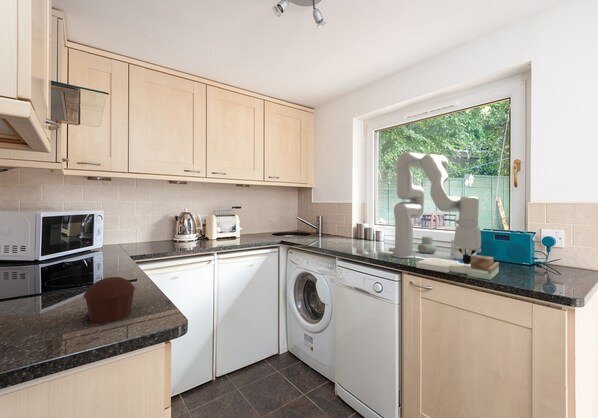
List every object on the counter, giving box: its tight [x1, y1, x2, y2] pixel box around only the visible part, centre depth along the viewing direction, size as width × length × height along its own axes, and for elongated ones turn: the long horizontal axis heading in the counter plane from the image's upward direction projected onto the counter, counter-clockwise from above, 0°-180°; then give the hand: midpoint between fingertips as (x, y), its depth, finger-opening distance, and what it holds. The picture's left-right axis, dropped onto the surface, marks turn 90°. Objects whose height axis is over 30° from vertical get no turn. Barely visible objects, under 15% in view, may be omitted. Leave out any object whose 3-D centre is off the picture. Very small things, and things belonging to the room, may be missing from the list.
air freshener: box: [417, 236, 437, 255], centre depth 175 cm, size 11×8×10 cm
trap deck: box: [415, 257, 500, 281], centre depth 131 cm, size 30×18×4 cm, turn 46°
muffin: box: [82, 276, 136, 324], centre depth 74 cm, size 12×11×10 cm
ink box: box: [450, 239, 475, 264], centre depth 148 cm, size 9×8×12 cm
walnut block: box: [471, 254, 495, 271], centre depth 123 cm, size 7×7×5 cm
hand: (466, 263), depth 128 cm, fingers closed
